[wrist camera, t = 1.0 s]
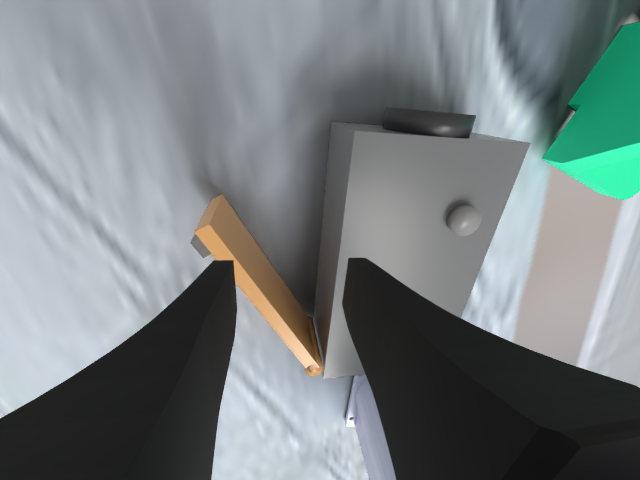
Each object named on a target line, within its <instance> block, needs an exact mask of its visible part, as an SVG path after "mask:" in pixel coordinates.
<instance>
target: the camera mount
mask: <svg viewBox="0 0 640 480" xmlns="http://www.w3.org/2000/svg"><path fill="white" fill-rule="evenodd" d="M568 105H569V106H571V107H572V108H573V109H575V114H574V115H573V116H572V118H571V119H570V121H569V122H568V123H567V125H566V126H565V127H564V129H563V130H562V131H561V133H560V134H559V136H558V137H557V138H556V140H555V141H554V142H553V144H552V145H551V147H550V148H549V149H548V151H547V152H546V153H545V155H544V156H543V158H542V159H543V160H545V161H546V162H548V163H550V164H551V165H553V166H555V167H557V168H558V169H560V170H561V171H563V172H565V173H566V174H568V175H569V176H571V177H573V178H574V179H576V180H578V181H579V182H581V183H583V184H584V185H586V186H588V187H589V188H591V189H593V190H594V191H596V192H597V193H601V194H604V195H608V196H611V197H614V198H618V199H621V200H625V199H628V198H631V197H632V196H634V195H635V194H636V193H638V192H639V191H640V22H636V23H631V24H626V25H624V26H623V27H622V28H621V30H620V31H619V33H618V34H617V35H616V37H615V38H614V40H613V41H612V42H611V44H610V45H609V47H608V48H607V49H606V51H605V52H604V54H603V55H602V56H601V58H600V59H599V61H598V62H597V63H596V65H595V66H594V68H593V69H592V70H591V72H590V73H589V75H588V76H587V78H586V79H585V80H584V82H583V83H582V85H581V86H580V87H579V89H578V90H577V92H576V93H575V94H574V96H573V97H572V99H571V100H570V101H569V103H568Z"/></svg>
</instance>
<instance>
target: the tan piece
mask: <svg viewBox="0 0 640 480" xmlns="http://www.w3.org/2000/svg"><path fill="white" fill-rule="evenodd" d="M194 233H195V235H194V237H193V239H192V240H191V242H190V243H191V244H192V245H193V247H194V248H195V249H196V250H197V251H198V252H199V254H200V255H201V256H202V257H203V258H204V257H206V256H208V255H210V254H212V255H213V256H214V257H215V258H216V260H234V274H235V283H236V284H237V285H238V286H239V288H240V289H241V290H242V291H243V292H244V294H245V295H246V296H247V297H248V299H249V300H250V301H251V302H252V303H253V305H254V306H255V307H256V308H257V310H258V311H259V312H260V313H261V314H262V316H263V317H264V318H265V319H266V321H267V322H268V323H269V324H270V325H271V327H272V328H273V329H274V330H275V331H276V333H277V334H278V335H279V336H280V338H281V339H282V340H283V341H284V342H285V344H286V345H287V346H288V347H289V349H290V350H291V351H292V352H293V353H294V355H295V356H296V357H297V358H298V360H299V361H300V362H301V363H302V364H303V366H304V367H305V371H306V374H307V375H309V376H316V375H319V374H320V373H321V372H322V371H323V365H322V360H321V355H320V350H319V346H318V341H317V336H316V331H315V327H314V322H313V319H312V318H311V317H309V316H307V314H306V313H305V311H304V310H303V309H302V307H301V306H300V304H299V303H298V301H297V300H296V299H295V297H294V296H293V294H292V293H291V291H290V290H289V289H288V287H287V286H286V284H285V283H284V281H283V280H282V278H281V277H280V276H279V274H278V273H277V271H276V270H275V268H274V267H273V266H272V264H271V263H270V261H269V260H268V258H267V257H266V256H265V254H264V253H263V251H262V250H261V248H260V247H259V246H258V244H257V243H256V241H255V240H254V238H253V237H252V236H251V234H250V233H249V231H248V230H247V228H246V227H245V225H244V224H243V223H242V221H241V220H240V218H239V217H238V215H237V214H236V213H235V211H234V210H233V208H232V207H231V205H230V204H229V203H228V201H227V200H226V198H225V197H224V195H223V194H221V195H220V196H218V197H216V198H214V199H212V200H211V201H210V203H209V205H208V207H207V209H206V210H205V212H204V214H203V216H202V218H201V220H200V222H199V224H198V226H197V228H196V229H195V231H194Z"/></svg>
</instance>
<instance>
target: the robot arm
mask: <svg viewBox="0 0 640 480" xmlns="http://www.w3.org/2000/svg"><path fill="white" fill-rule="evenodd" d="M342 306H343V311H344V315H345V319H346V323H347V327H348V330H349V333H350V336H351V338H352V341H353V344H354V346H355V349H356V351H357V354H358V356H359V359H360V362H361V364H362V367H363V369H364V372H365V374H366V375H356V376H354V379H353V384H352V389H351V395H350V400H349V405H348V410H347V415H346V420H345V424H346V426H348V427H351V426H355V428H356V432H357V436H358V439H359V443H360V447H361V450H362V454H363V458H364V462H365V465H366V469H367V473H368V476H369V480H640V388H639V387H637V386H635V385H632V384H629V383H626V382H623V381H619V380H616V379H613V378H610V377H607V376H604V375H601V374H598V373H594V372H591V371H588V370H585V369H582V368H579V367H576V366H573V365H570V364H567V363H564V362H561V361H559V360H556V359H553V358H551V357H548V356H545V355H543V354H540V353H537V352H534V351H532V350H529V349H527V348H525V347H522V346H519V345H517V344H515V343H512V342H510V341H508V340H505V339H503V338H501V337H499V336H496V335H494V334H492V333H490V332H487V331H485V330H483V329H481V328H479V327H477V326H475V325H473V324H471V323H469V322H467V321H465V320H463V319H461V318H459V317H457V316H455V315H453V314H451V313H450V312H448V311H446V310H444V309H442V308H441V307H439V306H437V305H436V304H434V303H432V302H431V301H429V300H427V299H426V298H424V297H423V296H421V295H419V294H418V293H416V292H415V291H413V290H412V289H410V288H409V287H407V286H406V285H404V284H403V283H401V282H400V281H399V280H397V279H396V278H394V277H393V276H391V275H390V274H389V273H387V272H386V271H384V270H383V269H382V268H380V267H379V266H377V265H376V264H374V263H373V262H371V261H370V260H368V259H367V258H348V265H347V272H346V278H345V285H344V292H343V299H342ZM236 315H237V302H236V288H235V274H234V260H214V261H213V262H212V263H211V264H210V265H209V266H208V267H207V268H206V269H205V270H204V271H203V272H202V273H201V274H200V275H199V276H198V278H197V279H196V280H195V281H194V282H193V283H192V284H191V285H190V286H189V287H188V288H187V289H186V290H185V291H184V292H183V293H182V294H181V295H180V296H179V297H178V298H176V299H175V300H174V301H173V302H172V303H171V304H170V305H169V306H168V307H167V308H165V309H164V310H163V311H162V312H161V313H160V314H159V315H158V316H156V317H155V318H154V319H153V320H152V321H151V322H149V323H148V324H147V325H146V326H144V327H143V328H142V329H140V330H139V331H138V332H137V333H135V334H134V335H133V336H131V337H130V338H128V339H127V340H126V341H124V342H123V343H122V344H120V345H119V346H118V347H116V348H115V349H113V350H112V351H110V352H109V353H107V354H106V355H104V356H103V357H101V358H100V359H98V360H97V361H95V362H94V363H92V364H91V365H89V366H87V367H86V368H84V369H83V370H81V371H80V372H78V373H77V374H75V375H74V376H72V377H71V378H69V379H68V380H66V381H64V382H63V383H61V384H59V385H58V386H56V387H54V388H53V389H51V390H49V391H48V392H46V393H44V394H43V395H41V396H39V397H38V398H36V399H34V400H32V401H31V402H29V403H27V404H25V405H24V406H22V407H20V408H18V409H17V410H15V411H13V412H11V413H9V414H8V415H6V416H4V417H2V418H1V419H0V480H211V476H212V467H213V457H214V449H215V440H216V431H217V423H218V416H219V410H220V404H221V399H222V395H223V390H224V385H225V380H226V376H227V371H228V366H229V361H230V356H231V352H232V347H233V342H234V337H235V327H236Z"/></svg>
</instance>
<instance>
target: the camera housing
mask: <svg viewBox="0 0 640 480" xmlns="http://www.w3.org/2000/svg"><path fill="white" fill-rule="evenodd" d="M475 118H476V115H465V114H455V113H444V112H433V111H422V110H410V109H399V108H386V111H385V117H384V123H383V125H370V124H357V123H343V122H331V127H330V138H329V150H328V161H327V172H326V183H325V194H324V206H323V217H322V228H321V239H320V250H319V262H318V273H317V284H316V295H315V307H314V318H313V322H314V327H315V331H316V336H317V341H318V346H319V350H320V355H321V360H322V365H323V371H322V374H323V379H327V378H337V377H347V376H356V375H366V374H365V372H364V369H363V367H362V364H361V362H360V359H359V356H358V354H357V351H356V349H355V346H354V344H353V341H352V338H351V336H350V333H349V330H348V327H347V323H346V319H345V315H344V311H343V306H342V299H343V292H344V285H345V278H346V272H347V265H348V258H367V259H368V260H370V261H371V262H373V263H374V264H376V265H377V266H379V267H380V268H382V269H383V270H384V271H386V272H387V273H389V274H390V275H391V276H393V277H394V278H396V279H397V280H399V281H400V282H401V283H403V284H404V285H406V286H407V287H409V288H410V289H412V290H413V291H415V292H416V293H418V294H419V295H421V296H423V297H424V298H426V299H427V300H429V301H431V302H432V303H434V304H436V305H437V306H439V307H441V308H442V309H444V310H446V311H448V312H450V313H451V314H453V315H455V316H457V317H459V318H461V316H462V313H463V311H464V308H465V306H466V303H467V301H468V298H469V296H470V293H471V291H472V288H473V286H474V283H475V281H476V278H477V276H478V273H479V271H480V268H481V266H482V263H483V261H484V258H485V256H486V253H487V251H488V248H489V246H490V243H491V241H492V238H493V236H494V233H495V231H496V228H497V226H498V223H499V220H500V218H501V215H502V213H503V210H504V208H505V205H506V203H507V200H508V198H509V195H510V193H511V190H512V188H513V185H514V183H515V180H516V178H517V175H518V173H519V170H520V168H521V165H522V163H523V160H524V158H525V155H526V153H527V150H528V148H529V145H530V143H527V142H521V141H515V140H510V139H504V138H499V137H493V136H488V135H482V134H477V133H471V131H472V128H473V125H474V121H475Z"/></svg>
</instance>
